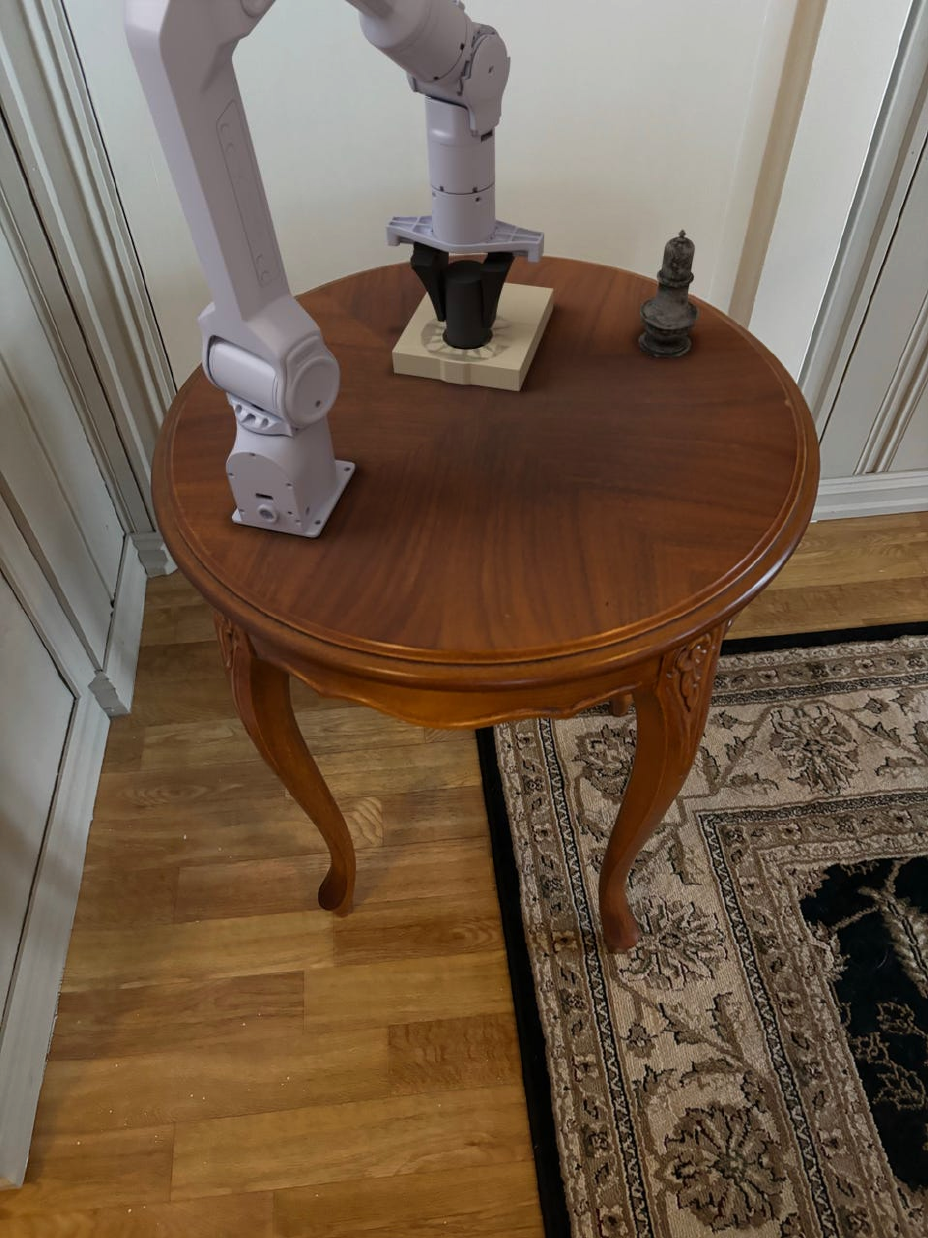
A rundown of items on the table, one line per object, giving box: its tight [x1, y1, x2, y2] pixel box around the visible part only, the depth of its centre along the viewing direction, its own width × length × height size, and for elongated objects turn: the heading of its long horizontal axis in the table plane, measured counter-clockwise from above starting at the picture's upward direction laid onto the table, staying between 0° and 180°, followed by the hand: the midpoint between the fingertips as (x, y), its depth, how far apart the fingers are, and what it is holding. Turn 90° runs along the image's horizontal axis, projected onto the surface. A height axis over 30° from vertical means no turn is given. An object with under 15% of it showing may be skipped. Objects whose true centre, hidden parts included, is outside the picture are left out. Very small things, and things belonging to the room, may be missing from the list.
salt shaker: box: [638, 229, 700, 359], centre depth 87 cm, size 6×6×12 cm
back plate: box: [391, 282, 555, 392], centre depth 92 cm, size 15×13×2 cm
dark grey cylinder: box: [443, 259, 488, 349], centre depth 86 cm, size 4×4×7 cm
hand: (467, 319), depth 88 cm, fingers closed on dark grey cylinder, 4 cm apart
